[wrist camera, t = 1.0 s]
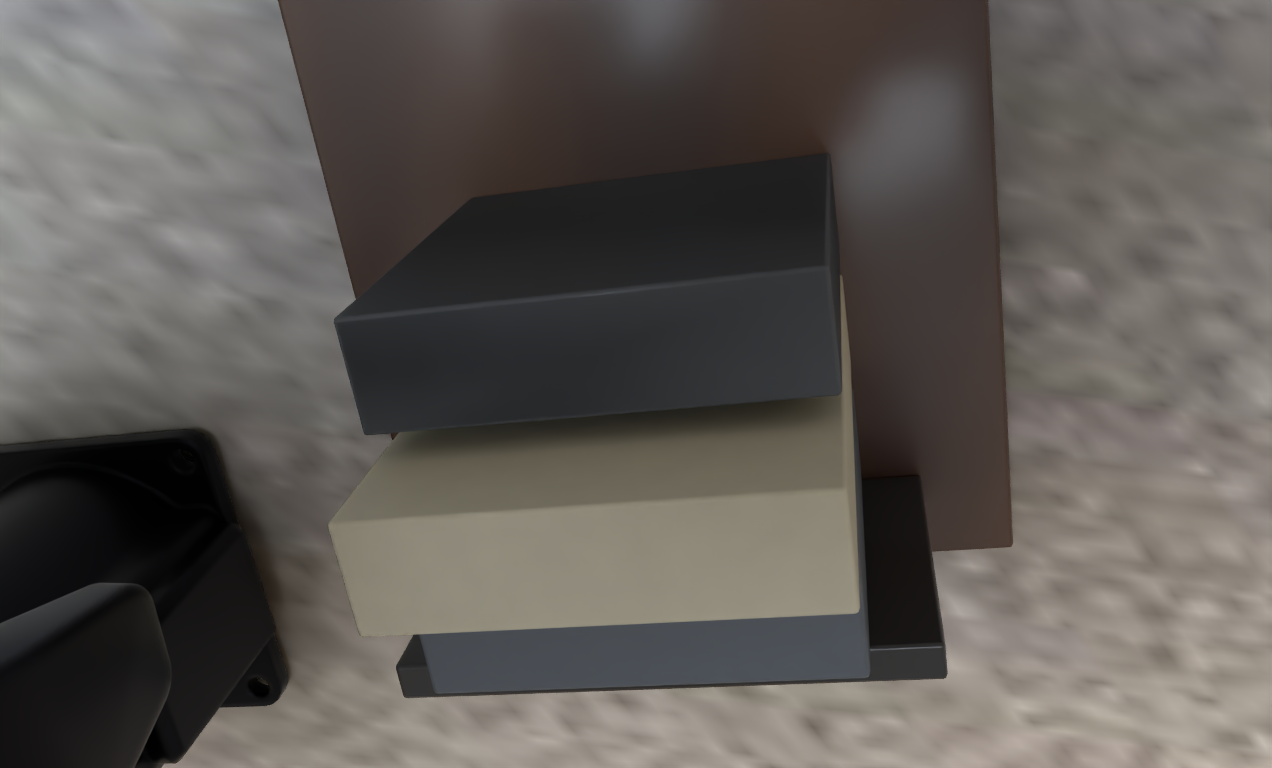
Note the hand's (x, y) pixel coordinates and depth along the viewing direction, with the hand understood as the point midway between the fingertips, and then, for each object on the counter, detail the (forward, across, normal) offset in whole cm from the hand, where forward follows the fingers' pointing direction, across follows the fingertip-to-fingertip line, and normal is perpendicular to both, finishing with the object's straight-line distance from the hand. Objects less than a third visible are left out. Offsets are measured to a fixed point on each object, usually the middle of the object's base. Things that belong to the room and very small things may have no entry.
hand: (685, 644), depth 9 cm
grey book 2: (+11, +2, 0) cm, 11 cm away
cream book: (+11, +2, +2) cm, 11 cm away
